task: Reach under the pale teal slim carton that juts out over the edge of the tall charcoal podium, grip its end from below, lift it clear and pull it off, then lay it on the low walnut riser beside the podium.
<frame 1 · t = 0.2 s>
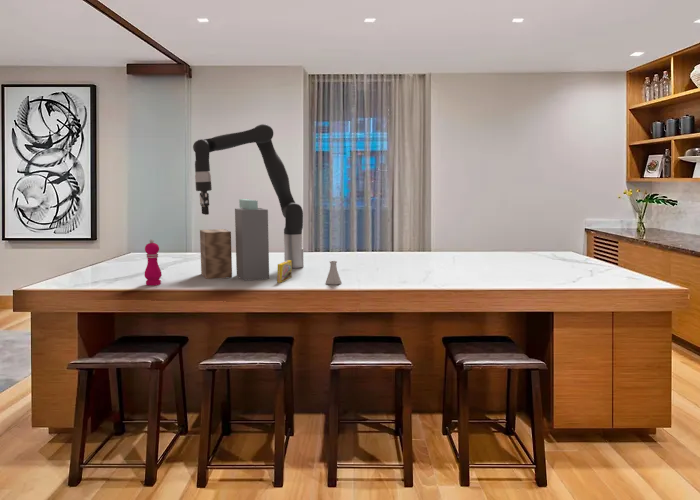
hand: (205, 214, 321), 29 cm above the worktop, tool pointing down, fingers open, 8 cm apart
candy box: (284, 280, 299), on the worktop
tall podium: (252, 277, 307), on the worktop
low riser: (216, 275, 313), on the worktop
flask: (333, 284, 288), on the worktop
pepper mill: (153, 284, 289), on the worktop
slim carton: (248, 208, 309), point 32 cm above the worktop, touching tall podium
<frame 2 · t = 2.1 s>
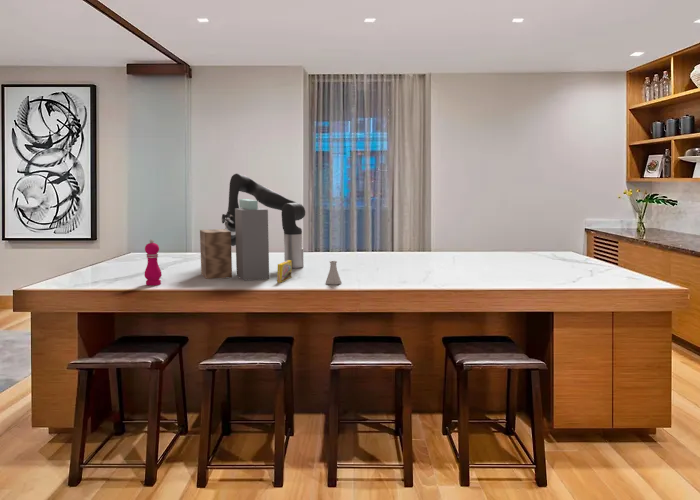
hand: (238, 211, 333), 29 cm above the worktop, tool pointing upward, fingers open, 8 cm apart
nothing on the worktop moved.
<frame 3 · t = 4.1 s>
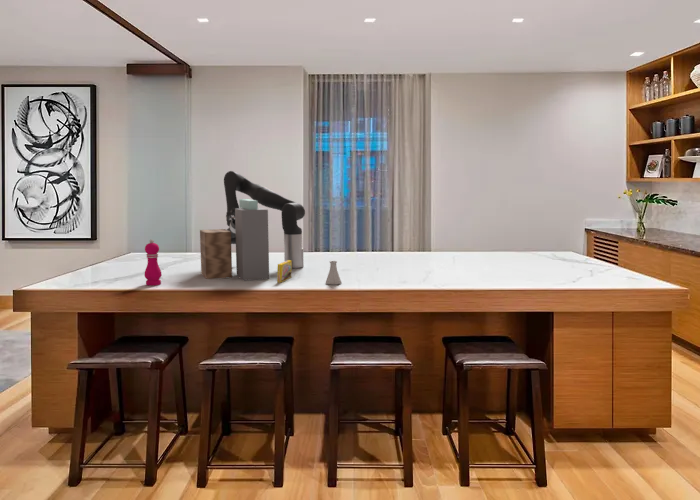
hand: (242, 209, 321), 31 cm above the worktop, tool pointing upward, fingers open, 8 cm apart
nothing on the worktop moved.
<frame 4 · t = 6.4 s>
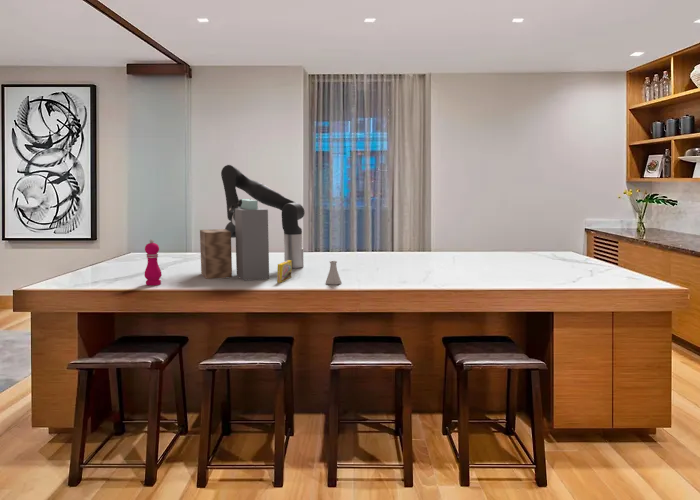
hand: (245, 200, 313), 35 cm above the worktop, tool pointing upward, fingers closed on slim carton, 4 cm apart
slim carton: (248, 208, 309), point 32 cm above the worktop, touching gripper, tall podium
everything else where it was.
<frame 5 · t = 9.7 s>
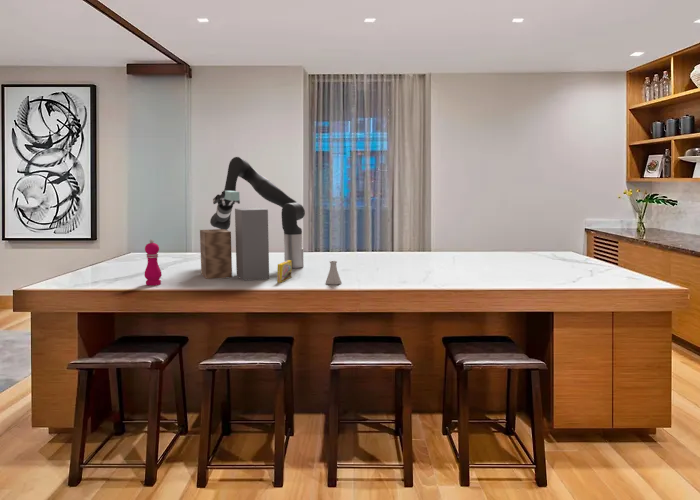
hand: (229, 192, 320), 39 cm above the worktop, tool pointing upward, fingers closed on slim carton, 4 cm apart
slim carton: (231, 199, 316), point 36 cm above the worktop, touching gripper
everything else where it was.
when the fingers open (27 cm above the worktop, at t = 13.3 s): slim carton drops 2 cm, resting on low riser.
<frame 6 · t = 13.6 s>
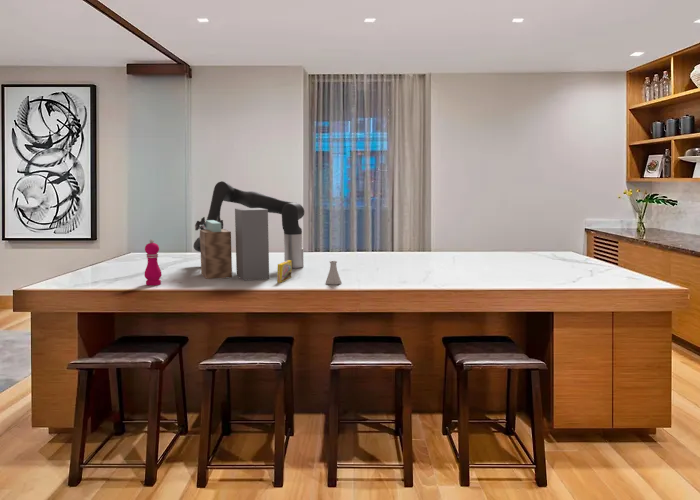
hand: (211, 218, 319), 27 cm above the worktop, tool pointing upward, fingers open, 6 cm apart
slim carton: (213, 230, 315), point 21 cm above the worktop, touching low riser
everything else where it was.
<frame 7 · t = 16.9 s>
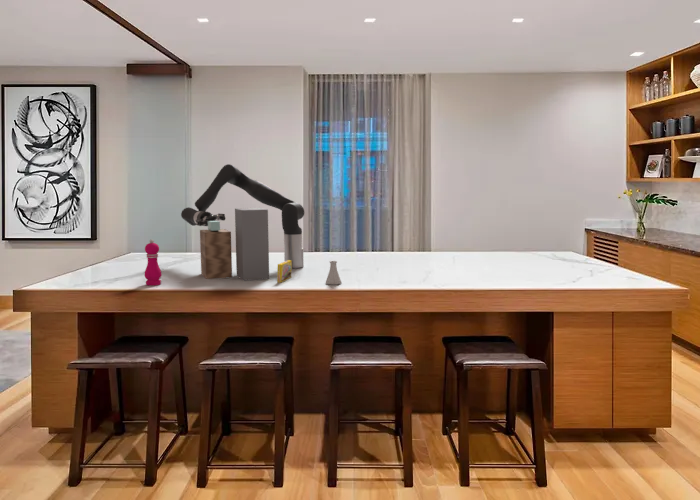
hand: (216, 220, 325), 25 cm above the worktop, tool horizontal, fingers open, 8 cm apart
slim carton: (213, 229, 313), point 22 cm above the worktop, touching gripper
everything else where it was.
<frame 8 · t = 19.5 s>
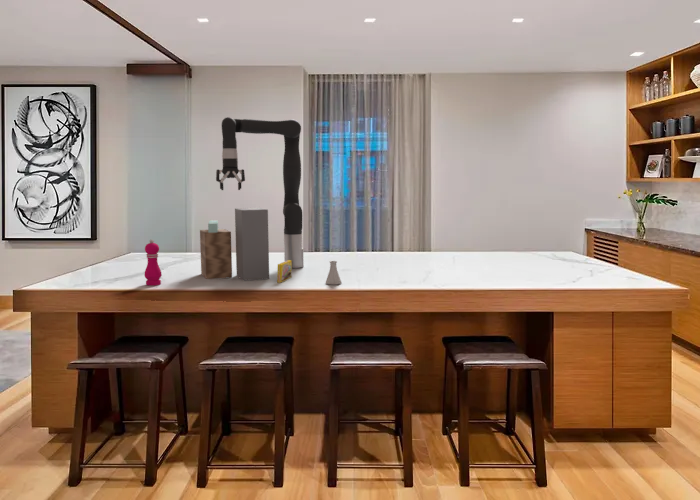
hand: (230, 190, 332), 40 cm above the worktop, tool pointing down, fingers open, 8 cm apart
slim carton: (213, 230, 312), point 21 cm above the worktop, touching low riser
everything else where it was.
at the end: slim carton inside the target area (2.0 cm from its centre), point 21.5 cm above the worktop; slim carton touching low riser; the gripper is holding nothing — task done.
